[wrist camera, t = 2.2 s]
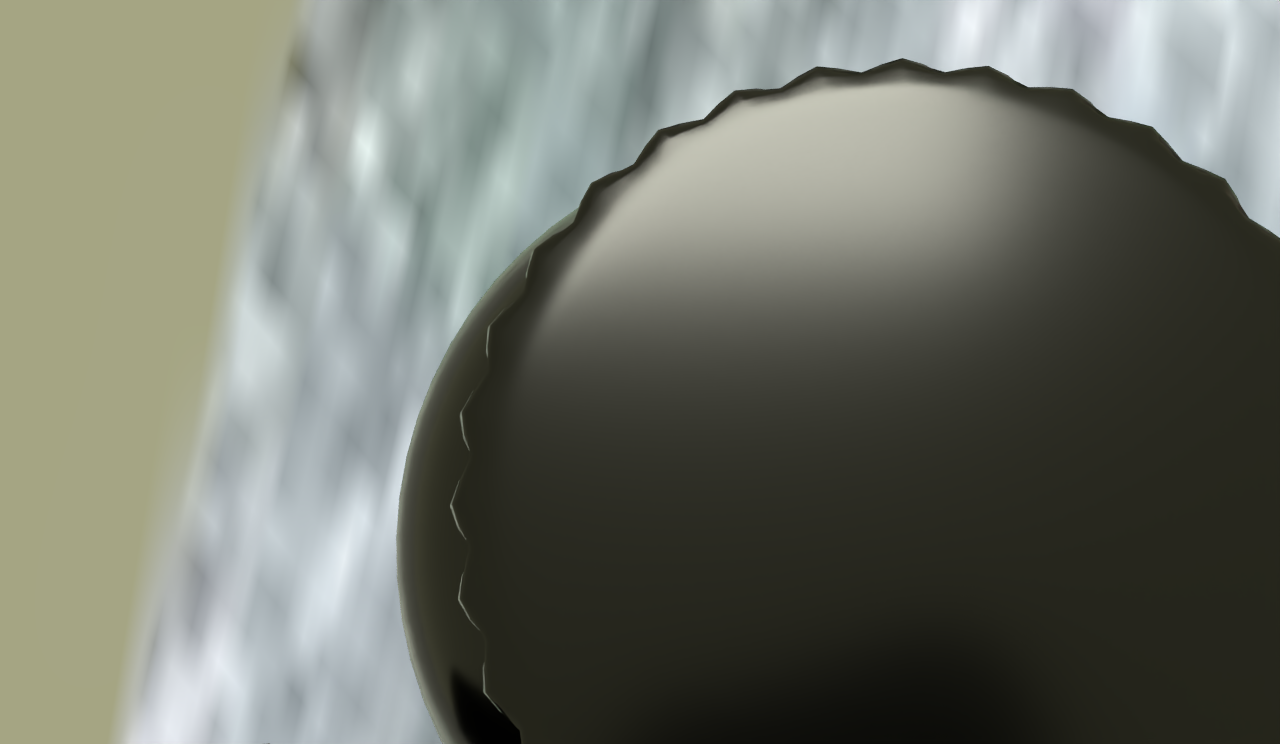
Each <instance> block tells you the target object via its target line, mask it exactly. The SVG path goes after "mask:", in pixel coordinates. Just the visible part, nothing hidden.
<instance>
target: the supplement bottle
mask: <svg viewBox="0 0 1280 744" xmlns="http://www.w3.org/2000/svg"><path fill="white" fill-rule="evenodd" d="M396 546H397V582H398V591H399V599H400V608H401V616H402V622H403V627H404V632H405V636H406V641H407V646H408V650H409V655H410V659H411V663H412V666H413V669H414V672H415V675H416V679H417V682H418V685H419V688H420V691H421V694H422V697H423V700H424V703H425V705H426V707H427V710H428V712H429V714H430V717H431V719H432V721H433V724H434V726H435V728H436V731H437V733H438V735H439V737H440V740H441V742H442V743H443V744H1280V238H1279V237H1278V236H1276V235H1275V234H1273V233H1272V232H1271V231H1269V230H1267V229H1266V228H1264V227H1263V226H1261V225H1259V224H1258V223H1256V222H1254V221H1253V220H1251V219H1249V218H1248V216H1247V215H1246V213H1245V211H1244V210H1243V208H1242V207H1241V205H1240V203H1239V201H1238V198H1237V196H1236V195H1235V193H1234V192H1233V190H1232V189H1231V187H1230V186H1229V184H1228V183H1227V181H1226V180H1225V179H1224V178H1222V177H1220V176H1218V175H1215V174H1213V173H1211V172H1209V171H1207V170H1205V169H1202V168H1200V167H1197V166H1194V165H1192V164H1189V163H1187V162H1184V161H1182V160H1181V158H1180V157H1179V156H1178V155H1177V154H1176V152H1175V151H1174V150H1173V149H1172V148H1171V146H1170V145H1169V144H1168V143H1167V142H1166V141H1165V140H1164V139H1163V138H1162V136H1161V135H1160V134H1159V133H1158V132H1157V131H1156V130H1155V129H1154V128H1153V127H1151V126H1147V125H1143V124H1140V123H1136V122H1132V121H1127V120H1121V119H1116V118H1110V117H1108V116H1106V115H1105V114H1103V113H1102V112H1101V111H1099V110H1098V109H1097V108H1095V107H1094V106H1093V104H1092V103H1091V102H1090V101H1088V100H1087V99H1086V98H1084V97H1083V96H1081V95H1080V94H1079V93H1077V92H1076V91H1075V90H1073V89H1067V88H1054V87H1027V86H1025V85H1023V84H1020V83H1018V82H1016V81H1014V80H1013V79H1012V78H1010V77H1009V76H1008V75H1006V74H1004V73H1002V72H1000V71H998V70H996V69H994V68H992V67H990V66H983V67H973V68H965V69H960V70H955V71H950V72H942V71H939V70H935V69H932V68H929V67H927V66H926V65H924V64H921V63H917V62H914V61H910V60H907V59H903V58H901V59H898V60H895V61H892V62H888V63H885V64H882V65H879V66H877V67H874V68H872V69H869V70H867V71H865V72H862V73H861V72H855V71H850V70H844V69H838V68H827V67H815V68H813V69H811V70H809V71H807V72H806V73H804V74H802V75H800V76H798V77H797V78H795V79H794V80H792V81H791V82H789V83H788V84H786V85H785V86H783V87H782V88H779V89H768V90H763V89H747V90H736V91H734V92H732V93H731V94H730V95H729V96H727V97H726V98H725V99H724V100H723V101H721V102H720V103H719V104H718V105H717V106H716V107H715V108H714V109H713V110H712V111H711V112H710V113H709V114H708V115H707V116H706V117H705V118H704V119H702V120H697V121H691V122H686V123H681V124H677V125H674V126H670V127H667V128H664V129H660V130H658V131H657V132H656V134H655V135H654V136H653V137H652V138H651V140H650V141H649V142H648V143H647V145H646V146H645V148H644V149H643V151H642V152H641V154H640V155H639V157H638V159H637V160H636V162H635V163H634V164H633V165H631V166H629V167H627V168H625V169H623V170H621V171H617V172H613V173H610V174H608V175H606V176H604V177H602V178H600V179H598V180H596V181H594V182H592V183H591V184H590V186H589V188H588V190H587V192H586V193H585V195H584V197H583V199H582V201H581V203H580V205H579V207H578V208H577V209H576V210H574V211H573V212H571V213H570V214H569V215H567V216H566V217H564V218H563V219H562V220H560V221H559V222H557V223H556V224H555V225H553V226H552V227H551V228H549V229H548V230H547V231H546V232H545V233H544V234H542V235H541V236H540V237H539V238H538V239H537V240H536V241H534V242H533V243H532V244H531V245H530V246H529V247H527V248H526V249H525V250H524V251H523V252H522V253H521V254H520V255H519V256H518V257H517V258H516V259H515V260H514V261H513V262H512V263H511V264H510V265H509V266H508V268H507V269H506V270H505V271H504V272H503V273H502V274H501V275H500V276H499V277H498V278H497V279H496V280H495V281H494V283H493V284H492V285H491V287H490V288H489V289H488V290H487V292H486V293H485V294H484V296H483V297H482V298H481V299H480V301H479V302H478V303H477V305H476V306H475V307H474V308H473V310H472V311H471V313H470V314H469V316H468V317H467V319H466V320H465V322H464V324H463V325H462V327H461V328H460V330H459V331H458V333H457V335H456V336H455V338H454V339H453V341H452V343H451V344H450V346H449V348H448V350H447V352H446V354H445V356H444V358H443V360H442V362H441V364H440V366H439V368H438V370H437V372H436V374H435V376H434V378H433V380H432V382H431V384H430V387H429V390H428V392H427V395H426V397H425V400H424V402H423V405H422V407H421V410H420V413H419V415H418V418H417V421H416V425H415V428H414V432H413V436H412V439H411V443H410V446H409V450H408V453H407V457H406V463H405V469H404V474H403V480H402V485H401V491H400V497H399V510H398V522H397V535H396Z"/></svg>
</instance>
